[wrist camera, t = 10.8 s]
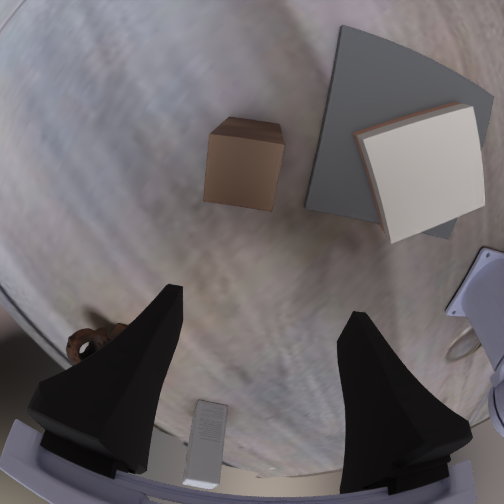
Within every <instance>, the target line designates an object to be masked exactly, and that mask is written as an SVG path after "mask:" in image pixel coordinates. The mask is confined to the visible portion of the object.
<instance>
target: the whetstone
mask: <svg viewBox="0 0 504 504" xmlns="http://www.w3.org/2000/svg"><path fill="white" fill-rule="evenodd" d="M353 135H354V137H355V140H356V143H357V146H358V149H359V152H360V155H361V158H362V161H363V164H364V167H365V170H366V173H367V177H368V180H369V183H370V187H371V190H372V193H373V197H374V201H375V204H376V208H377V212H378V216H379V220H380V224H381V228H382V230H383V231H384V233H385V234H386V236H387V238H388V239H389V241H390V242H391V244H392V243H395V242H397V241H400V240H402V239H405V238H408V237H410V236H413V235H415V234H418V233H420V232H423V231H425V230H428V229H430V228H433V227H435V226H437V225H440V224H442V223H445V222H447V221H449V220H452V219H454V218H457V217H459V216H461V215H464V214H466V213H468V212H471V211H473V210H475V209H478V208H480V207H482V206H484V205H485V192H484V177H483V166H482V157H481V149H480V142H479V135H478V129H477V124H476V118H475V114H474V109H473V106H470V105H466V104H462V103H458V102H453V103H449V104H445V105H441V106H438V107H434V108H430V109H427V110H423V111H420V112H416V113H413V114H410V115H406V116H403V117H400V118H396V119H393V120H390V121H387V122H384V123H381V124H378V125H375V126H372V127H369V128H366V129H363V130H360V131H357V132H354V133H353Z"/></svg>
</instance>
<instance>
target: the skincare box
mask: <svg viewBox="0 0 504 504" xmlns="http://www.w3.org/2000/svg"><path fill="white" fill-rule="evenodd" d="M227 409H228V406H226V405H221V404H216V403H211V402H207V401H202V400H198V403H197V406H196V409H195V412H194V414H193V419H192V425H191V430H190V436H189V442H188V449H187V454H186V461H185V467H184V473H183V479H182V483H183V484H185V485H190V486H195V487H200V488H206V489H212V488H214V487H216V486H218V485H219V483H220V474H221V465H222V456H223V447H224V437H225V428H226V418H227Z"/></svg>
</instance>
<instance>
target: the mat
mask: <svg viewBox="0 0 504 504" xmlns="http://www.w3.org/2000/svg"><path fill="white" fill-rule="evenodd" d="M493 100H494V96H493V95H491V94H490V93H488V92H487V91H485V90H484V89H482V88H481V87H479V86H478V85H476V84H475V83H473V82H471V81H470V80H468V79H466V78H465V77H463V76H461V75H460V74H458V73H456V72H455V71H453V70H451V69H449V68H447V67H446V66H444V65H442V64H440V63H438V62H436V61H434V60H432V59H430V58H428V57H426V56H424V55H422V54H420V53H418V52H415V51H413V50H411V49H409V48H406V47H404V46H402V45H399V44H397V43H394V42H392V41H389V40H387V39H384V38H381V37H379V36H376V35H373V34H370V33H367V32H364V31H361V30H358V29H355V28H352V27H348V26H345V25H342V26H341V27H340V32H339V38H338V44H337V50H336V55H335V61H334V67H333V72H332V78H331V83H330V88H329V93H328V98H327V104H326V109H325V113H324V118H323V123H322V128H321V133H320V137H319V142H318V147H317V151H316V156H315V160H314V165H313V169H312V174H311V178H310V182H309V187H308V191H307V195H306V199H305V204H304V207H305V209H307V210H312V211H318V212H323V213H329V214H334V215H340V216H345V217H350V218H355V219H360V220H365V221H370V222H375V223H379V224H380V220H379V216H378V212H377V208H376V204H375V201H374V197H373V193H372V190H371V187H370V183H369V180H368V177H367V173H366V170H365V167H364V164H363V161H362V158H361V155H360V152H359V149H358V146H357V143H356V140H355V137H354V135H353V133H354V132H357V131H360V130H363V129H366V128H369V127H372V126H375V125H378V124H381V123H384V122H387V121H390V120H393V119H396V118H400V117H403V116H406V115H410V114H413V113H416V112H420V111H423V110H427V109H430V108H434V107H438V106H441V105H445V104H449V103H453V102H458V103H462V104H466V105H470V106H473V109H474V114H475V118H476V124H477V129H478V135H479V142H480V149H481V150H482V147H483V143H484V140H485V136H486V132H487V128H488V124H489V119H490V115H491V110H492V105H493ZM457 218H458V217H457ZM457 218H454V219H452V220H449V221H447V222H445V223H442V224H440V225H437V226H435V227H433V228H430V229H428V230H425V231H423V232H420V233H424V234H428V235H433V236H437V237H441V238H445V239H448V238H449V236H450V234H451V232H452V230H453V227H454V225H455V223H456V220H457Z"/></svg>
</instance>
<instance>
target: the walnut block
mask: <svg viewBox="0 0 504 504" xmlns="http://www.w3.org/2000/svg"><path fill="white" fill-rule="evenodd" d="M284 146H285V144H284V140H283V136H282V132H281V129H280V125H279V124H275V123H269V122H262V121H256V120H249V119H242V118H234V117H228V118H227V119H226V120H225V121H224V122H223V123H221V124H220V125H219V126H218V127H217V128H216V129H215V130H213V131H212V132H211V133H210V134H209V143H208V153H207V163H206V174H205V186H204V198H203V201H204V202H212V203H219V204H226V205H233V206H240V207H246V208H253V209H259V210H265V211H272V208H273V203H274V198H275V193H276V188H277V183H278V177H279V172H280V167H281V162H282V157H283V152H284Z"/></svg>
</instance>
